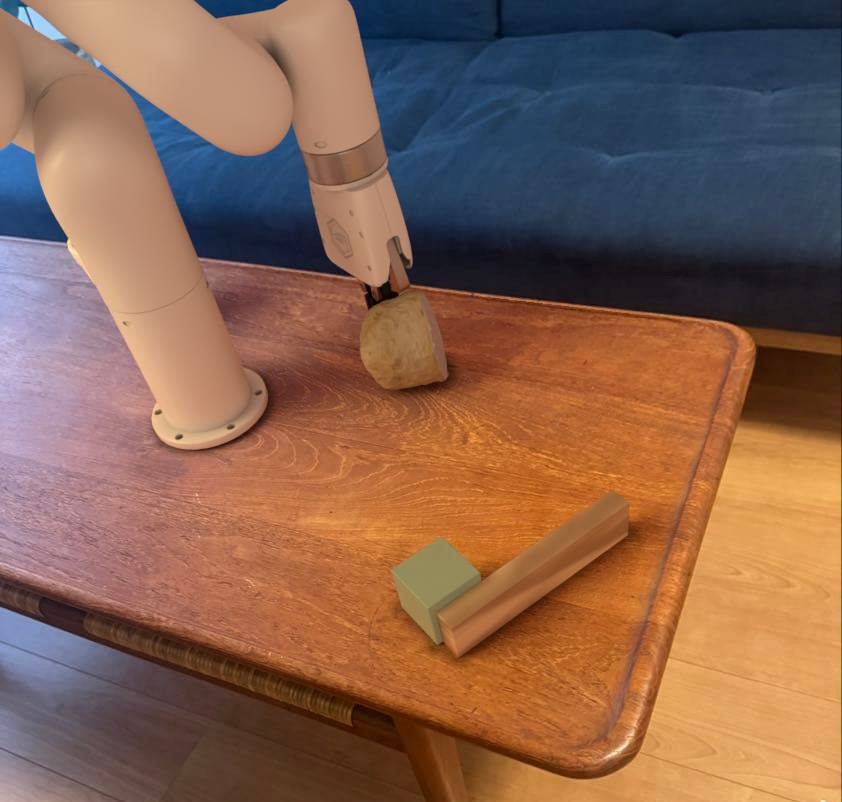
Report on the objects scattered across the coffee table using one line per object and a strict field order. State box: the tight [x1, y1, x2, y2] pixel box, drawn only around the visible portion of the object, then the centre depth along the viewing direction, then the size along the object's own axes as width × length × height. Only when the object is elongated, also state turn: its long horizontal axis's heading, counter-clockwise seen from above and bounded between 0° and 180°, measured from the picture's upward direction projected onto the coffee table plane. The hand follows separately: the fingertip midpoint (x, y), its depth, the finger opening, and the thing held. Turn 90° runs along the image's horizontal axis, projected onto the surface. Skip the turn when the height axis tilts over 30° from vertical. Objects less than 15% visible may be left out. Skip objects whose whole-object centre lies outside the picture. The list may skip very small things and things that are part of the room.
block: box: [390, 536, 483, 646], centre depth 64 cm, size 5×5×5 cm
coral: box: [358, 290, 450, 391], centre depth 83 cm, size 10×10×10 cm
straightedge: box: [436, 489, 631, 658], centre depth 65 cm, size 2×18×4 cm, turn 126°
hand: (388, 321), depth 88 cm, fingers closed
